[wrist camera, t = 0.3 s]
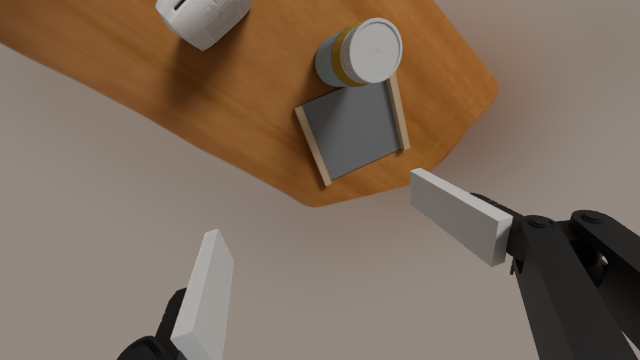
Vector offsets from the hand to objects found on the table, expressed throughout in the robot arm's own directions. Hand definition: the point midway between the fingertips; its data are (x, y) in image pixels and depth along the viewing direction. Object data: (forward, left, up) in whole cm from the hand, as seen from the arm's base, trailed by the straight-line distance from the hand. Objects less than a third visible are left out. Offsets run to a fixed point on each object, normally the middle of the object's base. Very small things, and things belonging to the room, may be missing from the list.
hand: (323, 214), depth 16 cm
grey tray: (+4, +13, -28) cm, 31 cm away
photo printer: (-18, -1, -28) cm, 33 cm away
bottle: (-7, +13, -28) cm, 31 cm away
